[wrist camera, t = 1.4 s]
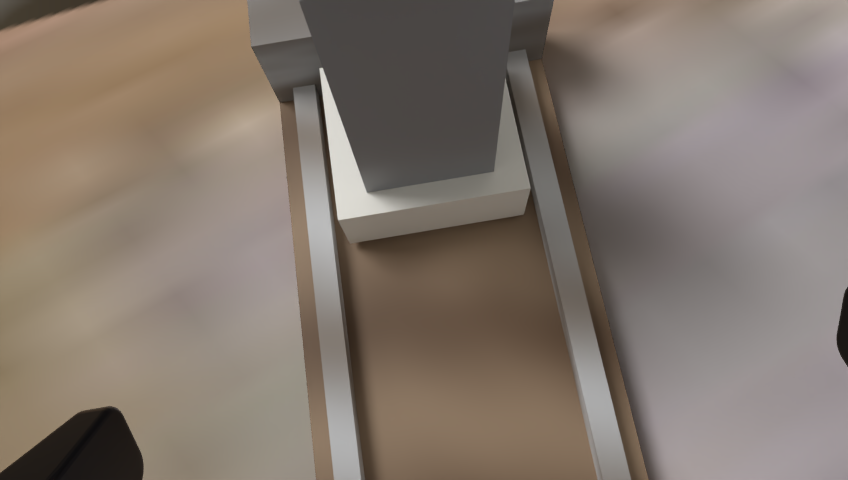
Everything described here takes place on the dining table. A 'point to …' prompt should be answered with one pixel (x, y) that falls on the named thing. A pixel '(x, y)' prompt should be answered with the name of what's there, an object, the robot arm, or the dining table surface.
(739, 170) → the dining table surface
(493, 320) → the track
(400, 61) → the carriage
